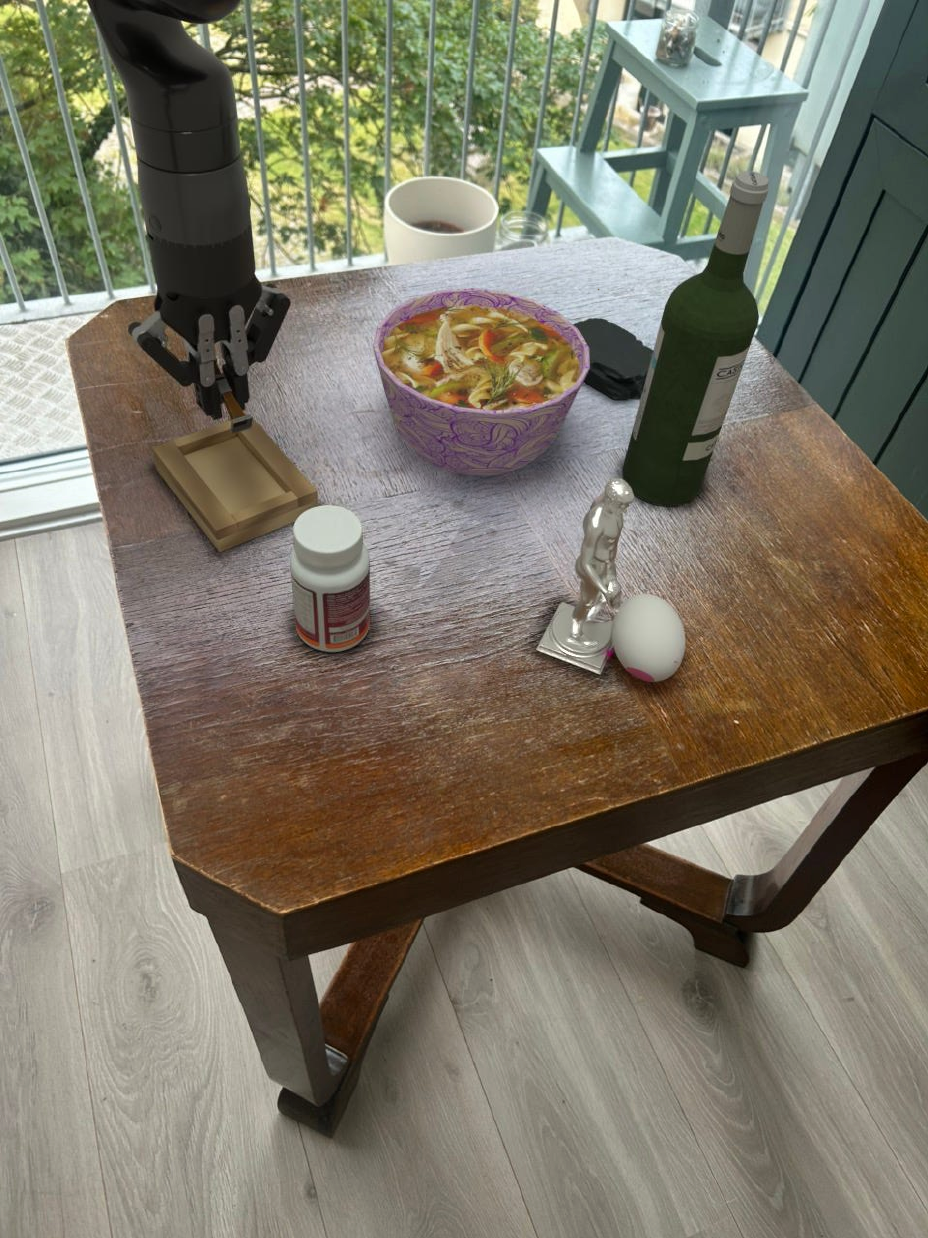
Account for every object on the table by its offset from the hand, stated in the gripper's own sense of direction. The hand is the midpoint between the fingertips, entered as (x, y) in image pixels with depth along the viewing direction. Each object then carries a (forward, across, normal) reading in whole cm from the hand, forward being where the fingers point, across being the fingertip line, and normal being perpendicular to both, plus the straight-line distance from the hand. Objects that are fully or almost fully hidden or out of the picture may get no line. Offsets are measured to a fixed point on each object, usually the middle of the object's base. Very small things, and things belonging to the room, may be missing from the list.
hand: (224, 409), depth 82 cm
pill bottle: (+9, +1, +19) cm, 21 cm away
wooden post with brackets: (0, 0, 0) cm, 0 cm away
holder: (+9, 0, 0) cm, 9 cm away
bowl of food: (+9, -23, +6) cm, 26 cm away
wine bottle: (+9, -36, +20) cm, 42 cm away
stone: (+9, -44, +3) cm, 45 cm away
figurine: (+9, -15, +32) cm, 36 cm away
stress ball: (+9, -19, +36) cm, 41 cm away
